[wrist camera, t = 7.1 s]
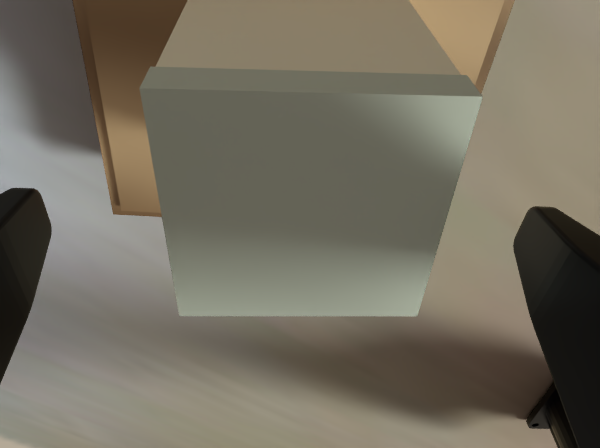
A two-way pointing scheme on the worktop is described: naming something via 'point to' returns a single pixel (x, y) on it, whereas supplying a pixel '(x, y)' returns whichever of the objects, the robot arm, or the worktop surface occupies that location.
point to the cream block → (304, 155)
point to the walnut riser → (152, 40)
